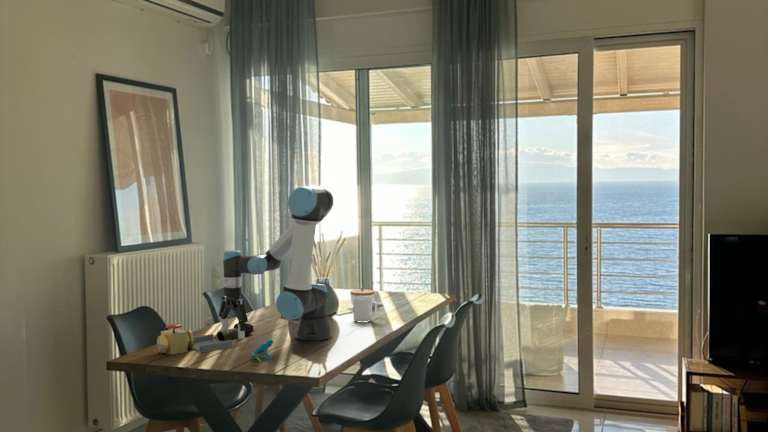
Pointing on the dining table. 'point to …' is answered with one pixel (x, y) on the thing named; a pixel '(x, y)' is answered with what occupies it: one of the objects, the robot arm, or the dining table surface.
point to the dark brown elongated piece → (234, 332)
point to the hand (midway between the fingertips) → (233, 336)
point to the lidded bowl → (362, 293)
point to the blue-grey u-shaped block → (210, 343)
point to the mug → (363, 308)
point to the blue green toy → (262, 350)
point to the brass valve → (175, 340)
